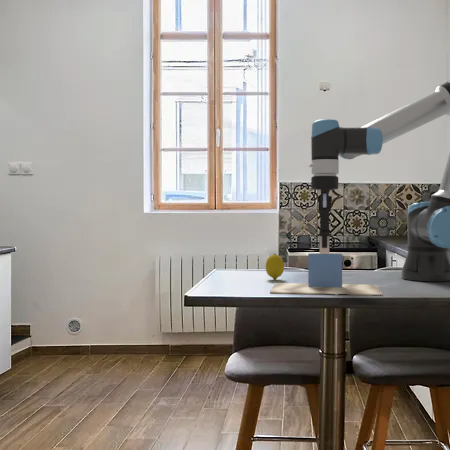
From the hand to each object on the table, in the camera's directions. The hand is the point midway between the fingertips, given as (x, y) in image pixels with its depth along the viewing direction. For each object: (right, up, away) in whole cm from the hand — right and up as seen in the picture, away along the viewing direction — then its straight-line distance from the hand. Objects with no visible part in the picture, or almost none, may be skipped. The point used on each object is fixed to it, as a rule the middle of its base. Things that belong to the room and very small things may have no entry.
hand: (324, 259), depth 165 cm
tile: (-1, -7, -6) cm, 9 cm away
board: (-1, -8, -9) cm, 12 cm away
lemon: (-13, -7, +13) cm, 20 cm away
